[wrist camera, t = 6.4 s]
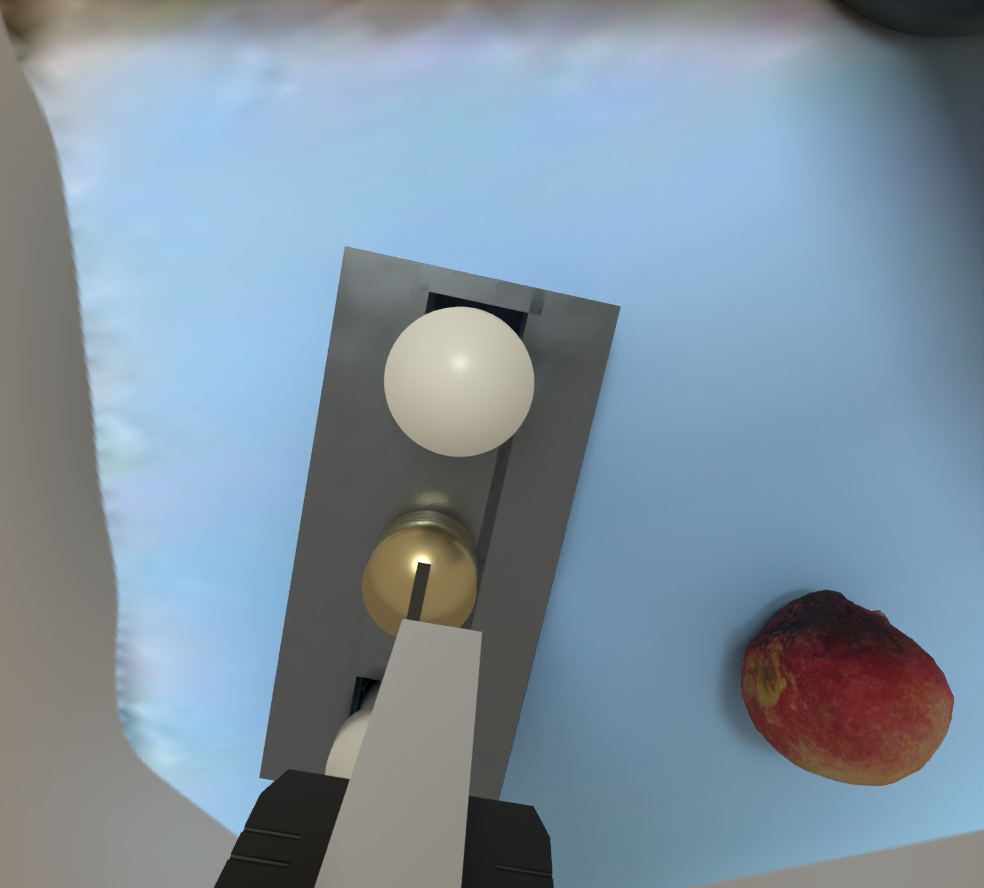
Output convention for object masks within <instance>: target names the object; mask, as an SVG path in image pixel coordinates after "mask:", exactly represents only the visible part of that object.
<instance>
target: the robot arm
mask: <svg viewBox="0 0 984 888" xmlns="http://www.w3.org/2000/svg"><path fill="white" fill-rule="evenodd" d="M842 1H843V2H844V3H845V4H847V5H848V6H849V7H851V8H852V9H854V10H855V11H857V12H858V13H860V14H862V15H863V16H865V17H866V18H868V19H871V20H873V21H875V22H877V23H879V24H881V25H884V26H886V27H889V28H892V29H895V30H899V31H902V32H906V33H912V34H917V35H925V36H958V35H965V34H972V33H976V32H981V31H984V0H842ZM481 640H482V632H480V631H474V630H468V629H462V628H456V627H450V626H444V625H437V624H431V623H425V622H419V621H413V620H407V619H402V622H401V625H400V628H399V631H398V634H397V637H396V641H395V644H394V647H393V650H392V653H391V656H390V659H389V662H388V665H387V668H386V671H385V674H384V677H383V680H382V683H381V686H380V689H379V692H378V695H377V698H376V701H375V704H374V708H373V711H372V714H371V717H370V720H369V723H368V726H367V729H366V732H365V735H364V738H363V741H362V744H361V747H360V750H359V753H358V756H357V759H356V762H355V765H354V768H353V771H352V775H351V778H350V779H347V778H341V777H335V776H329V775H323V774H316V773H310V772H304V771H298V770H292V769H288V770H287V771H286V772H284V773H283V774H282V775H281V776H280V777H279V778H278V779H277V780H275V781H274V782H273V783H272V784H271V785H270V786H269V787H267V788H266V789H265V790H264V791H263V792H262V793H261V794H260V796H259V798H258V800H257V802H256V804H255V806H254V808H253V810H252V812H251V814H250V816H249V818H248V820H247V822H246V824H245V828H244V831H243V832H241V834H240V836H239V838H238V840H237V842H236V844H235V846H234V848H233V850H232V852H231V856H230V859H229V860H227V862H226V864H225V867H224V869H223V870H222V873H221V874H220V876H219V878H218V881H217V882H216V885H215V886H214V888H554V887H553V879H552V859H551V845H550V837H549V835H548V833H547V831H546V829H545V827H544V825H543V823H542V821H541V820H540V818H539V816H538V814H537V812H536V810H535V808H534V806H529V805H523V804H517V803H511V802H505V801H499V800H492V799H486V798H480V797H474V796H469V785H470V773H471V761H472V749H473V737H474V725H475V713H476V700H477V688H478V676H479V664H480V652H481Z"/></svg>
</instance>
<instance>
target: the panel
mask: <svg viewBox="0 0 984 888" xmlns="http://www.w3.org/2000/svg"><path fill="white" fill-rule="evenodd" d="M437 293H439V294H443V295H448V296H453V297H457V298H462V299H466V300H471V301H476V302H480V303H485V304H489V305H494V306H499V307H503V308H508V309H512V310H517V311H522V312H523V316H522V320H521V325H520V330H519V334H518V337H519V338H520V339H521V341H522V342H523V344H524V346H525V348H526V350H527V351H528V354H529V357H530V359H531V363H532V367H533V373H534V393H533V399H532V402H531V406H530V409H529V411H528V413H527V416H526V418H525V419H524V421H523V423H522V424H521V426H520V427H519V428H518V429H517V431H516V432H515V433H514V434H513V435H512V436H511V437H510V438H509V439H508V440H506V441H505V442H504V443H502V444H501V445H499V446H498V447H496V448H494V449H492V450H490V451H487V452H485V453H482V454H478V455H474V456H466V457H453V456H446V455H442V454H438V453H435V452H432V451H430V450H428V449H426V448H424V447H422V446H420V445H419V444H417V443H416V442H414V441H413V440H412V439H410V438H409V437H408V436H407V435H406V434H405V433H404V432H403V430H402V429H401V428H400V427H399V425H398V424H397V422H396V421H395V419H394V417H393V416H392V414H391V411H390V409H389V407H388V403H387V400H386V395H385V389H384V374H385V367H386V363H387V359H388V356H389V354H390V351H391V349H392V347H393V345H394V343H395V342H396V340H397V339H398V337H399V336H400V335H401V333H402V332H403V331H404V330H405V329H406V328H407V327H408V326H409V325H411V324H412V323H413V322H414V321H416V320H417V319H419V318H421V317H422V316H424V315H426V314H428V313H431V312H433V310H434V305H435V300H436V295H437ZM620 307H621V306H616V305H611V304H607V303H602V302H598V301H593V300H589V299H584V298H579V297H575V296H570V295H566V294H561V293H557V292H552V291H547V290H543V289H538V288H534V287H529V286H525V285H520V284H515V283H511V282H506V281H502V280H497V279H493V278H488V277H484V276H479V275H474V274H470V273H465V272H461V271H456V270H452V269H447V268H442V267H438V266H433V265H429V264H424V263H420V262H415V261H410V260H406V259H401V258H397V257H392V256H388V255H383V254H378V253H374V252H369V251H365V250H360V249H356V248H351V247H346V246H345V250H344V256H343V262H342V268H341V274H340V281H339V287H338V293H337V299H336V306H335V312H334V318H333V324H332V330H331V337H330V343H329V349H328V355H327V361H326V368H325V374H324V380H323V386H322V392H321V399H320V405H319V411H318V417H317V424H316V430H315V436H314V442H313V448H312V455H311V461H310V467H309V473H308V479H307V486H306V492H305V498H304V504H303V510H302V517H301V523H300V529H299V535H298V541H297V548H296V554H295V560H294V566H293V573H292V579H291V585H290V591H289V597H288V604H287V610H286V616H285V622H284V628H283V635H282V641H281V647H280V653H279V659H278V666H277V672H276V678H275V684H274V691H273V697H272V703H271V709H270V715H269V722H268V728H267V734H266V740H265V746H264V753H263V759H262V765H261V771H260V777H259V778H263V779H268V780H274V781H275V780H277V779H278V778H279V777H280V776H281V775H282V774H283V773H284V772H286V771H287V770H288V769H292V770H298V771H304V772H310V773H316V774H323V775H325V770H326V764H327V760H328V757H329V755H330V752H331V749H332V746H333V743H334V740H335V738H336V735H337V733H338V731H339V729H340V727H341V726H342V724H343V723H344V722H345V721H346V720H347V719H348V718H349V717H350V716H352V715H353V714H354V713H356V712H357V709H358V704H359V698H360V693H361V688H362V683H363V677H364V678H370V679H375V680H380V681H382V680H383V677H384V674H385V671H386V668H387V665H388V662H389V659H390V656H391V653H392V650H393V647H394V644H395V641H396V637H395V636H393V635H391V634H389V633H387V632H386V631H385V630H383V629H382V628H381V627H380V626H379V625H377V623H376V622H375V621H374V620H373V619H372V617H371V616H370V614H369V613H368V611H367V609H366V606H365V604H364V600H363V596H362V579H363V575H364V571H365V569H366V566H367V564H368V562H369V560H370V557H371V555H372V553H373V551H374V549H375V547H376V545H377V542H378V540H379V538H380V536H381V535H382V533H383V531H384V530H385V529H386V528H387V527H388V526H389V525H390V524H391V523H392V522H393V521H395V520H396V519H397V518H399V517H401V516H403V515H405V514H408V513H411V512H415V511H435V512H439V513H443V514H446V515H448V516H450V517H452V518H454V519H455V520H457V521H458V522H459V523H461V524H462V525H463V526H464V527H465V528H466V529H467V531H468V532H469V533H470V535H471V537H472V538H473V540H474V543H475V545H476V549H477V554H478V571H477V594H476V600H475V604H474V607H473V609H472V611H471V614H470V615H469V617H468V618H467V620H466V621H465V622H464V623H463V625H461V626H460V627H459V628H462V629H468V630H474V631H480V632H482V640H481V652H480V664H479V676H478V688H477V700H476V713H475V725H474V737H473V749H472V761H471V773H470V785H469V796H474V797H480V798H486V799H492V800H499V797H500V793H501V789H502V785H503V781H504V777H505V773H506V769H507V765H508V761H509V757H510V753H511V749H512V745H513V741H514V736H515V732H516V728H517V724H518V720H519V716H520V712H521V708H522V704H523V700H524V696H525V692H526V688H527V684H528V680H529V676H530V672H531V668H532V664H533V659H534V655H535V651H536V647H537V643H538V639H539V635H540V631H541V627H542V623H543V619H544V615H545V611H546V607H547V603H548V599H549V595H550V591H551V587H552V582H553V578H554V574H555V570H556V566H557V562H558V558H559V554H560V550H561V546H562V542H563V538H564V534H565V530H566V526H567V522H568V518H569V514H570V509H571V505H572V501H573V497H574V493H575V489H576V485H577V481H578V477H579V473H580V469H581V465H582V461H583V457H584V453H585V449H586V445H587V441H588V437H589V432H590V428H591V424H592V420H593V416H594V412H595V408H596V404H597V400H598V396H599V392H600V388H601V384H602V380H603V376H604V372H605V368H606V364H607V360H608V355H609V351H610V347H611V343H612V339H613V335H614V331H615V327H616V323H617V319H618V315H619V311H620Z"/></svg>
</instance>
